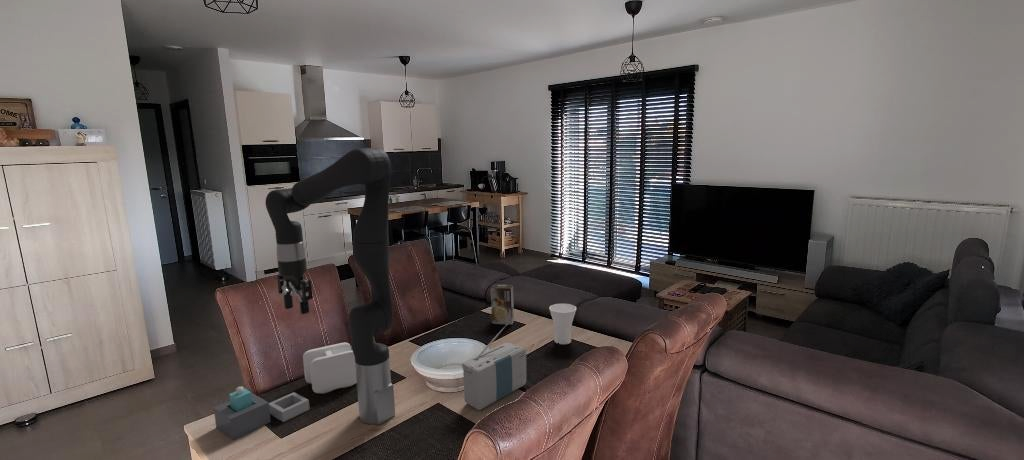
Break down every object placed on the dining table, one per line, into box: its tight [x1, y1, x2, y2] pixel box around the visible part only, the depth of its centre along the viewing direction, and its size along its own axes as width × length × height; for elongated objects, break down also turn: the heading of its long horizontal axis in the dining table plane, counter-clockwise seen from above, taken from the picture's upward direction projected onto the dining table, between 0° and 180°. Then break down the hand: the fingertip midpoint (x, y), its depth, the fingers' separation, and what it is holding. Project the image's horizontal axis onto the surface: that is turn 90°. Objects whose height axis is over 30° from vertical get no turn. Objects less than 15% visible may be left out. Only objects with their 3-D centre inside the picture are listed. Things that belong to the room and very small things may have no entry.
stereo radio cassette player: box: [461, 324, 527, 411], centre depth 145 cm, size 21×8×20 cm, turn 137°
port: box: [213, 392, 272, 440], centre depth 133 cm, size 10×10×6 cm
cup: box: [548, 303, 577, 345], centre depth 185 cm, size 10×10×14 cm
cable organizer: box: [302, 342, 357, 394], centre depth 155 cm, size 15×11×12 cm
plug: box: [228, 385, 253, 412], centre depth 132 cm, size 4×4×10 cm
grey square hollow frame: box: [269, 391, 310, 423], centre depth 140 cm, size 8×8×3 cm
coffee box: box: [490, 283, 515, 325], centre depth 207 cm, size 9×6×16 cm
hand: (296, 310), depth 142 cm, fingers open, 8 cm apart
